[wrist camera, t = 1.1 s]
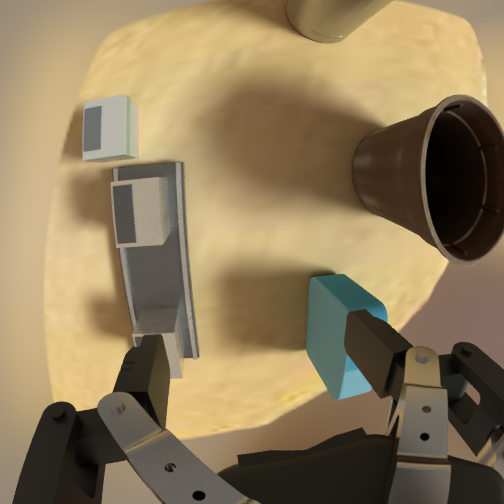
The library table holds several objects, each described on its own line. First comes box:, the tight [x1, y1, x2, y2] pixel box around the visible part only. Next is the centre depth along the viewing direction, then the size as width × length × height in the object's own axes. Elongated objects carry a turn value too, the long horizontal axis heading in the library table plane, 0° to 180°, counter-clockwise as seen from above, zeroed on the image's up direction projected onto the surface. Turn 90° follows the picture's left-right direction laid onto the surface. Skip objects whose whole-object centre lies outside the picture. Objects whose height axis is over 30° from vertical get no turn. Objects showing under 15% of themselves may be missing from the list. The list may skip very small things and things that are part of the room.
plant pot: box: [352, 95, 504, 266], centre depth 27 cm, size 16×16×16 cm
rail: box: [110, 162, 199, 379], centre depth 29 cm, size 24×8×8 cm, turn 1°
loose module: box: [83, 95, 139, 163], centre depth 25 cm, size 6×5×6 cm
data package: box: [306, 274, 388, 400], centre depth 32 cm, size 12×4×12 cm, turn 2°
